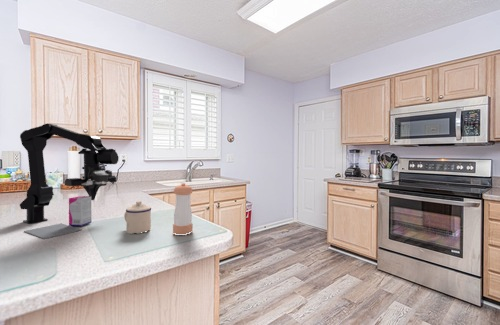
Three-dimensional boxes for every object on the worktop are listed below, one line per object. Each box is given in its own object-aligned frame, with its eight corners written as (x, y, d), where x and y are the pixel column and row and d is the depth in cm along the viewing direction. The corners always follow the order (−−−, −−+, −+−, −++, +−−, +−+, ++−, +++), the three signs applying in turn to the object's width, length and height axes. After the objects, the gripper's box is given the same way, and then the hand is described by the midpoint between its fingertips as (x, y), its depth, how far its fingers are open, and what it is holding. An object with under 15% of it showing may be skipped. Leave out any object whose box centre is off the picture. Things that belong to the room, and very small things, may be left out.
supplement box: (92, 222, 102) (92, 196, 102) (81, 226, 96) (80, 198, 96) (79, 221, 103) (79, 195, 102) (68, 225, 97) (67, 198, 97)
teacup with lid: (156, 229, 96) (156, 200, 95) (137, 235, 87) (137, 204, 87) (134, 225, 100) (134, 198, 100) (114, 231, 92) (115, 201, 92)
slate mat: (24, 231, 90) (24, 230, 90) (61, 224, 100) (61, 223, 100) (44, 239, 82) (44, 238, 82) (81, 230, 93) (81, 229, 93)
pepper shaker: (168, 234, 90) (169, 183, 89) (181, 229, 96) (181, 182, 96) (184, 237, 87) (185, 185, 86) (196, 231, 94) (196, 183, 93)
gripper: (78, 165, 91) (79, 205, 91) (123, 163, 108) (124, 198, 108) (63, 165, 96) (64, 203, 97) (108, 163, 113) (109, 196, 113)
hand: (92, 200), depth 103 cm, fingers closed
